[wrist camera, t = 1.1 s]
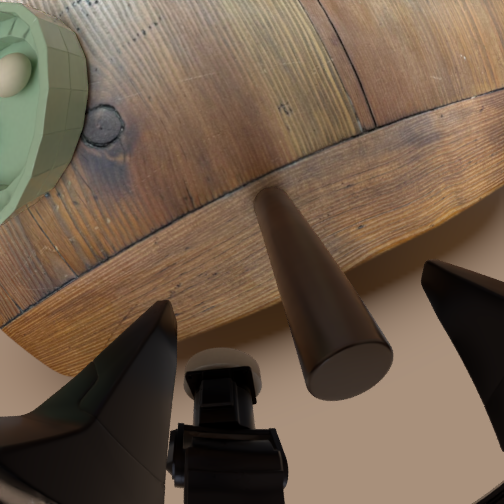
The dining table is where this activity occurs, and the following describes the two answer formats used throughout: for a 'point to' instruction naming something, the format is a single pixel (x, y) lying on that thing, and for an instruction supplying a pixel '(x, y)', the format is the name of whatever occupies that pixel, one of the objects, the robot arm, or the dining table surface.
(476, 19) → the dining table surface
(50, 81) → the bowl
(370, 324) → the stick
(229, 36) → the dining table surface
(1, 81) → the bead
